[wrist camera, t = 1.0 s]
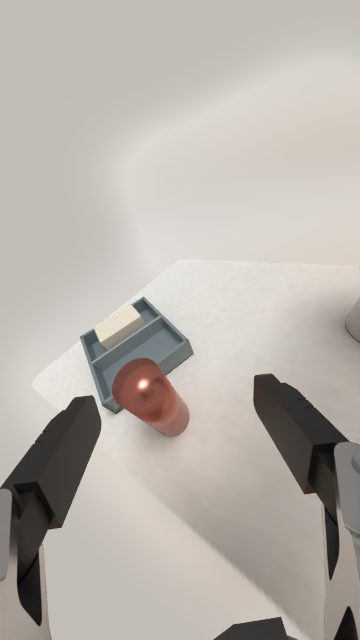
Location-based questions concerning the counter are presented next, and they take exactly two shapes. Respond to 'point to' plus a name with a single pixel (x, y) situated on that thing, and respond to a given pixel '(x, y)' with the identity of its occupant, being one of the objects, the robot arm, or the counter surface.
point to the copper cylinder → (150, 396)
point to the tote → (135, 350)
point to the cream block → (119, 327)
